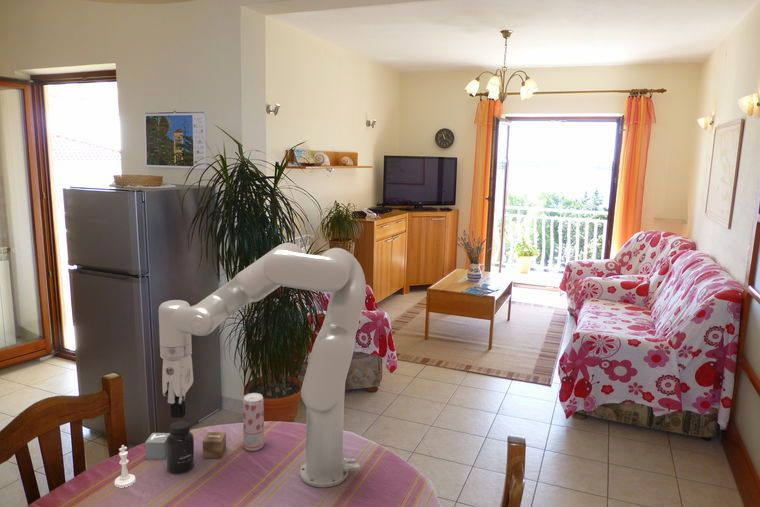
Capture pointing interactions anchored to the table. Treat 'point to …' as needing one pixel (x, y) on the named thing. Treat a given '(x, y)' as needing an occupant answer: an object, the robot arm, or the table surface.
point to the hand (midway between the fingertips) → (178, 416)
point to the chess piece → (124, 471)
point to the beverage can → (253, 421)
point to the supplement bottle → (180, 448)
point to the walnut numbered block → (214, 445)
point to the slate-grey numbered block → (156, 446)
